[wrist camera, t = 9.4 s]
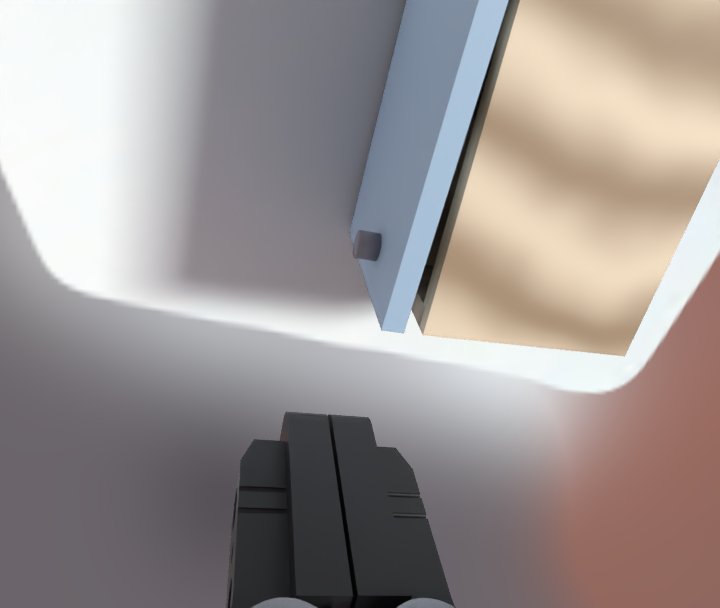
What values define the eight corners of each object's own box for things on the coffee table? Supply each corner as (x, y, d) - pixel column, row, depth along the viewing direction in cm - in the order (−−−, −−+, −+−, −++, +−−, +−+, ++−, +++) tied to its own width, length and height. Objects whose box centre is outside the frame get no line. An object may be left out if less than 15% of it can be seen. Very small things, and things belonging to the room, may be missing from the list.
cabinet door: (412, -116, 32) (495, -173, 20) (453, -103, 33) (556, -151, 21) (332, 230, 41) (358, 327, 29) (365, 236, 42) (403, 333, 30)
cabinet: (451, -88, 33) (557, -129, 21) (633, -39, 36) (820, -50, 24) (378, 234, 42) (422, 335, 30) (527, 255, 45) (624, 356, 33)
